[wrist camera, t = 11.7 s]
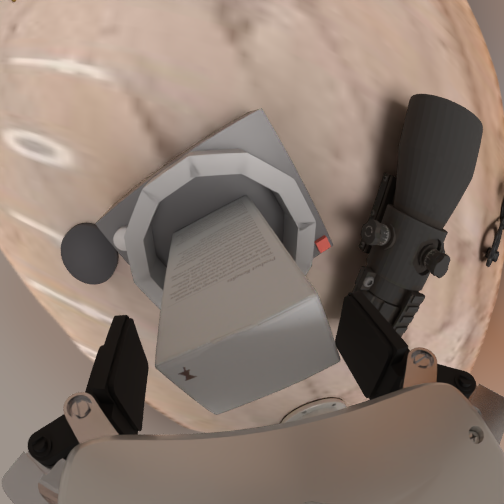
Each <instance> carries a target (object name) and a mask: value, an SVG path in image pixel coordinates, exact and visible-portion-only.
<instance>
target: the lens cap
mask: <svg viewBox="0 0 504 504" xmlns="http://www.w3.org/2000/svg"><path fill="white" fill-rule="evenodd" d="M61 256H62V260H63V263H64V265H65V267H66V268H67V270H68V271H69V272H70V274H71V275H72V276H74V277H75V278H76V279H78V280H79V281H81V282H84V283H87V284H100V283H103V282H105V281H107V280H108V279H109V278H110V277H111V276H112V274H113V273H114V271H115V269H116V266H117V264H118V251H117V250H116V249H115V248H114V247H113V245H112V244H111V243H110V242H109V240H108V239H107V238H106V237H105V236H104V234H103V233H102V232H101V231H100V229H99V228H98V227H97V225H95V224H92V223H82V224H78V225H76V226H74V227H73V228H72V229H71V230H70V231H69V232H68V233H67V234H66V235H65V237H64V238H63V241H62V244H61Z"/></svg>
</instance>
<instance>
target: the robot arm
mask: <svg viewBox="0 0 504 504" xmlns="http://www.w3.org/2000/svg"><path fill="white" fill-rule="evenodd" d="M335 343H336V347H337V349H338V350H339V352H340V354H341V355H342V357H343V359H344V361H345V362H346V364H347V366H348V368H349V369H350V371H351V373H352V374H353V376H354V378H355V380H356V381H357V383H358V385H359V387H360V389H361V390H362V392H363V394H364V396H365V397H366V398H369V399H370V400H368V401H365V402H362V403H359V404H356V405H353V406H350V407H347V408H346V406H345V403H344V402H343V401H342V400H340V399H336V398H329V399H322V400H318V401H315V402H312V403H309V404H306V405H304V406H302V407H300V408H298V409H296V410H294V411H293V412H291V413H290V414H288V415H287V416H286V417H285V418H284V419H283V421H282V422H281V424H275V425H270V426H264V427H257V428H250V429H243V430H235V431H225V432H214V433H201V434H176V435H138V431H141V430H142V421H143V410H144V401H145V392H146V384H147V376H148V361H147V358H146V356H145V353H144V350H143V347H142V345H141V342H140V339H139V336H138V333H137V330H136V327H135V324H134V321H133V319H132V318H129V317H128V316H127V315H119V316H114V319H113V321H112V324H111V327H110V329H109V332H108V335H107V338H106V341H105V344H104V345H102V346H101V347H100V348H99V350H98V353H97V356H96V359H95V362H94V365H93V368H92V371H91V375H90V378H89V381H88V385H87V388H86V391H85V392H78V393H75V394H72V395H71V396H69V397H68V398H67V400H66V401H65V403H64V407H63V411H64V415H62V416H61V417H59V418H57V419H56V420H54V421H53V422H51V423H49V424H48V425H46V426H45V427H43V428H41V429H40V430H38V431H37V432H35V433H34V434H32V435H31V437H30V439H29V441H28V450H29V451H28V452H27V453H25V452H23V453H22V454H21V455H20V457H19V458H18V459H17V460H16V461H15V463H14V464H13V465H12V466H11V467H10V469H9V470H8V471H7V472H6V474H5V475H4V476H3V479H2V487H3V490H4V492H5V493H6V495H7V496H8V497H9V498H10V500H11V501H12V502H13V503H14V504H504V453H503V451H502V449H501V447H500V445H499V444H500V441H501V438H502V435H503V432H504V397H503V396H501V395H499V394H497V393H495V392H493V391H492V390H490V389H488V388H486V387H484V386H482V385H481V384H479V385H478V386H476V381H475V380H474V378H473V376H472V375H471V374H469V373H468V372H465V371H462V370H458V369H454V368H451V367H447V366H443V365H440V364H437V359H436V357H435V355H434V354H433V353H432V352H431V351H429V350H428V349H425V348H420V347H419V348H414V349H412V350H411V351H410V350H409V349H408V345H407V344H406V343H405V341H404V340H403V339H402V338H401V337H400V335H399V334H398V333H397V332H396V331H395V330H394V328H393V327H392V326H391V325H390V324H389V322H388V321H387V320H386V319H385V318H384V317H383V315H382V314H381V313H380V312H379V311H378V310H377V309H376V307H375V306H374V305H373V304H372V303H371V302H370V301H369V299H368V298H367V297H366V296H365V295H364V294H363V293H362V292H361V291H357V292H351V293H348V295H347V296H346V297H345V298H344V302H343V307H342V312H341V317H340V322H339V326H338V330H337V335H336V339H335Z"/></svg>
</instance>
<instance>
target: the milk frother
mask: <svg viewBox="0 0 504 504" xmlns="http://www.w3.org/2000/svg"><path fill="white" fill-rule="evenodd" d="M503 229H504V202H503V206H502V212H501V223H500V226H499V229H498V231H497V233H496V236H495V239H494V242H493V244H492V248H488V251H487V254H486V257H487V258H488V259H487V262H486V266H488V267H489V266H490V265H491V263H492V261H494V262H496V261H497V259H498V256H499V252H498V251H497V249H498V247H499V244H500V239H501V235H502V230H503Z"/></svg>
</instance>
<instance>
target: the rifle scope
mask: <svg viewBox="0 0 504 504" xmlns="http://www.w3.org/2000/svg"><path fill="white" fill-rule="evenodd" d="M482 132H483V126H482V123H481V121H480V120H479V119H478V118H477V117H476V116H475V115H474V114H473V113H472V112H470V111H469V110H467V109H466V108H464V107H462V106H461V105H459V104H457V103H455V102H452V101H450V100H448V99H445V98H442V97H438V96H434V95H428V94H416V95H413V96H412V97H411V99H410V101H409V105H408V109H407V114H406V118H405V123H404V127H403V131H402V135H401V139H400V143H399V149H398V167H397V177H394V176H392V175H389V174H387V173H384V176H383V179H382V182H381V185H380V188H379V191H378V195H377V198H376V201H375V204H374V206H373V209H372V212H371V215H370V218H369V221H368V223H366V224H364V225H363V227H362V231H361V236H362V240H361V242H360V245H359V248H360V249H361V250H362V251H364V252H365V253H369V255H368V258H367V261H366V262H367V266H366V267H364V266H362V268H361V270H360V273H359V275H358V277H357V280H356V282H355V284H356V285H355V288H354V290H353V292H357V291H361V292H362V293H363V294H364V295H365V296H366V297H367V298H368V299H369V301H370V302H371V303H372V304H373V305H374V306H375V307H376V309H377V310H378V311H379V312H380V313H381V314H382V315H383V317H384V318H385V319H386V320H387V321H388V322H389V324H390V325H391V326H392V327H393V328H394V330H395V331H396V332H397V333H398V334H399V335H400V337H401V336H402V335H403V333H405V331H406V330H407V326H408V325H409V323H411V321H412V320H413V318H414V317H413V316H414V315H415V313H416V312H417V311H418V309H419V306H420V304H421V303H422V302H423V300H424V298H425V295H423V294H421V293H419V291H420V290H422V288H423V286H424V284H425V282H426V280H427V278H428V276H429V274H430V272H431V274H433V275H434V276H437V277H438V278H441V277H442V276H444V275H445V273H446V272H447V270H448V265H449V262H450V257H449V256H448V255H446V254H445V251H444V243H443V242H444V240H445V237H446V235H447V231H446V230H444V229H443V227H444V226H445V224H446V223H447V221H448V219H449V218H450V216H451V215H452V213H453V211H454V210H455V208H456V206H457V205H458V203H459V201H460V199H461V198H462V196H463V194H464V192H465V191H466V189H467V187H468V185H469V183H470V181H471V179H472V177H473V173H474V170H475V166H476V162H477V157H478V153H479V148H480V143H481V138H482Z"/></svg>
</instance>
